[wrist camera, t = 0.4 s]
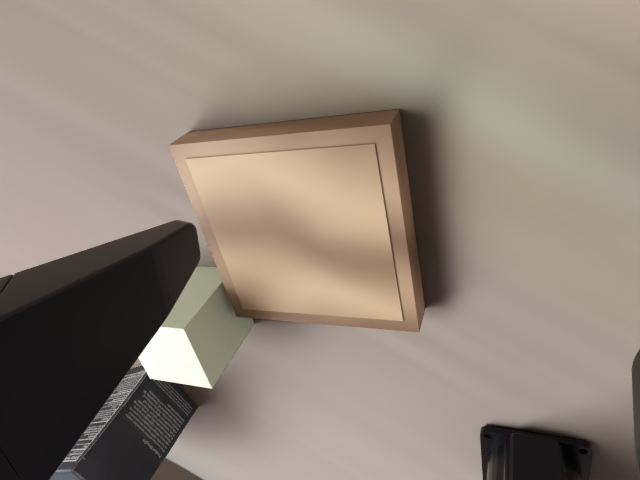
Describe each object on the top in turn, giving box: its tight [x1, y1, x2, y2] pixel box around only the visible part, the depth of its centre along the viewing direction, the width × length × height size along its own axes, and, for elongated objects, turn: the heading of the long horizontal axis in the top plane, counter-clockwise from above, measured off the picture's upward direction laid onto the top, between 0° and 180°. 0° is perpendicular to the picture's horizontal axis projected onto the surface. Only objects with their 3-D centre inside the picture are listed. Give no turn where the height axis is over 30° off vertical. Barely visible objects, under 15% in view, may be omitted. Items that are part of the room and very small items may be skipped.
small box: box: [50, 366, 198, 480], centre depth 41 cm, size 11×6×10 cm, turn 126°
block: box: [138, 267, 254, 389], centre depth 31 cm, size 5×5×6 cm
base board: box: [168, 109, 425, 332], centre depth 26 cm, size 12×12×2 cm
